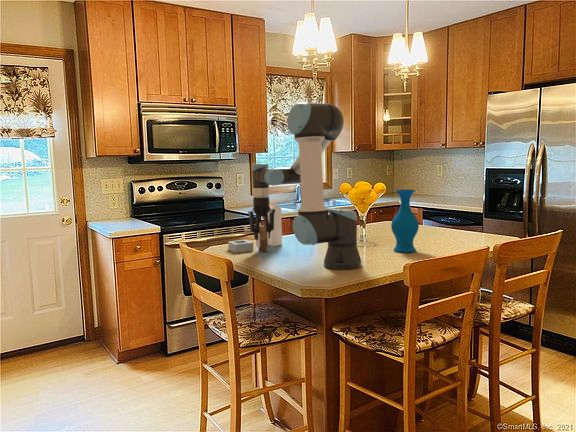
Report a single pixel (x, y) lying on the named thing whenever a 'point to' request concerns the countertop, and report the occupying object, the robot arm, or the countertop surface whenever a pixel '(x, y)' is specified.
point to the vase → (404, 224)
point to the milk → (276, 225)
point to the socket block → (240, 246)
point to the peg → (263, 239)
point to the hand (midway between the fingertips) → (262, 245)
